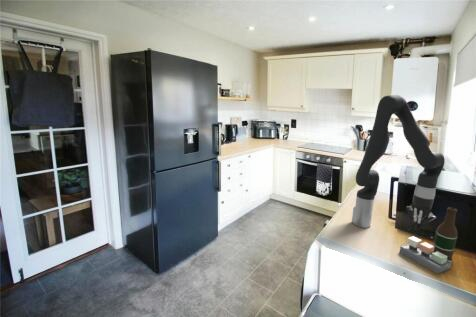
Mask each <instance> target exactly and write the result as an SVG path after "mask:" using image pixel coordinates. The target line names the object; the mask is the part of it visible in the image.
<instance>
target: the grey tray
mask: <svg viewBox="0 0 476 317" xmlns="http://www.w3.org/2000/svg"><path fill="white" fill-rule="evenodd" d="M419 247H420V246H419ZM419 247H417V248H415V247H413V246H411V245H409V244H407V245H400V246H399V253H401V254H402V255H404V256H406V257H408V258H409V259H412V260H413V261H415V262H416V263H418V264H420V265H421V266H423V267H425V268H426V269H430V270H431V271H433V272H435V273H436V274H440V273H443V272H445V271H446V270H449V269H451V268H452V267H451V265H452V260H450V259H447V261H446V263H444V264H439V263H437V262H435V261H433V260H431V257H432V253H430V254H426V253H425V252H423V251H421V250H419Z"/></svg>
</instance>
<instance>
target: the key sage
mask: <svg viewBox="0 0 476 317" xmlns="http://www.w3.org/2000/svg"><path fill="white" fill-rule="evenodd" d="M447 257H448V256H446V255H444V254H442V253H440V252H438V251H437V252H435V253H432V257H431V260H433V261H435V262H437V263H439V264H444V263H446V261H447V260H448V259H447Z"/></svg>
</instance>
